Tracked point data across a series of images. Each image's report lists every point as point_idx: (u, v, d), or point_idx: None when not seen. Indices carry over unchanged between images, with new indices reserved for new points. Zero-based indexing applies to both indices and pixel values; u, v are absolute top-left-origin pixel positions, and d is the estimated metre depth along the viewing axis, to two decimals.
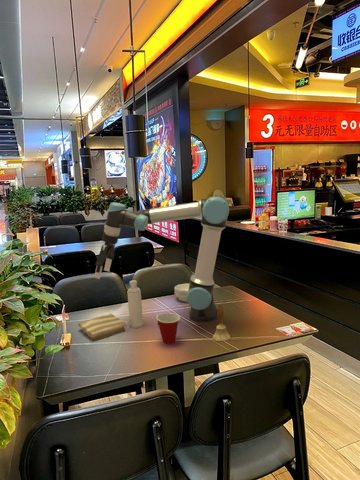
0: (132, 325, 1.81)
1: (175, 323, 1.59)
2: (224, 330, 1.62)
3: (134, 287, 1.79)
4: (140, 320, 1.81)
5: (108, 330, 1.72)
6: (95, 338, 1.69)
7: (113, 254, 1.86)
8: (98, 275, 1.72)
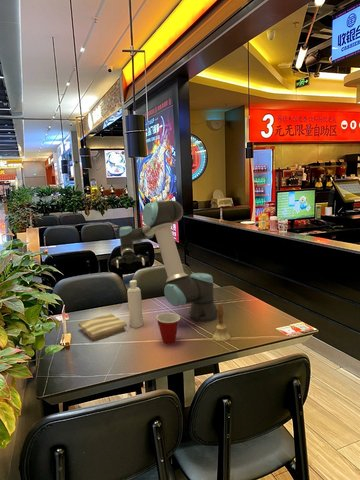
0: (132, 325, 1.81)
1: (175, 323, 1.59)
2: (224, 330, 1.62)
3: (134, 287, 1.79)
4: (140, 320, 1.81)
5: (108, 330, 1.72)
6: (95, 338, 1.69)
7: (144, 256, 1.98)
8: (116, 263, 1.88)
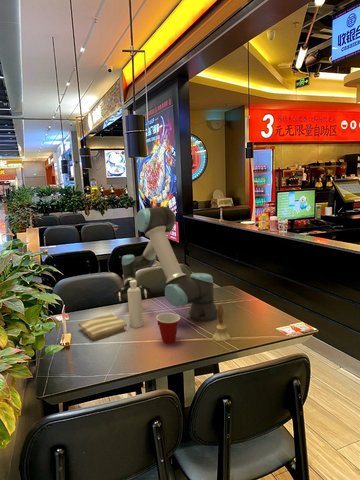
0: (132, 325, 1.81)
1: (175, 323, 1.59)
2: (224, 330, 1.62)
3: (134, 287, 1.79)
4: (140, 320, 1.81)
5: (108, 330, 1.72)
6: (95, 338, 1.69)
7: (147, 287, 1.97)
8: (119, 296, 1.87)
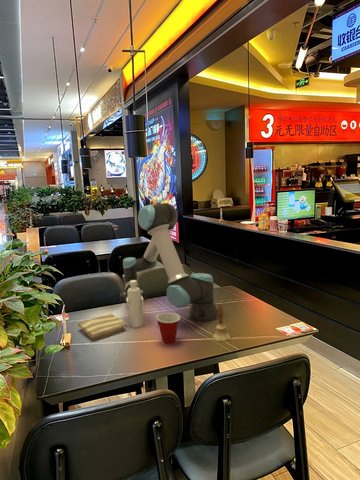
0: (132, 325, 1.81)
1: (175, 323, 1.59)
2: (224, 330, 1.62)
3: (134, 287, 1.79)
4: (140, 320, 1.81)
5: (108, 330, 1.72)
6: (95, 338, 1.69)
7: (144, 293, 1.87)
8: (126, 302, 1.78)
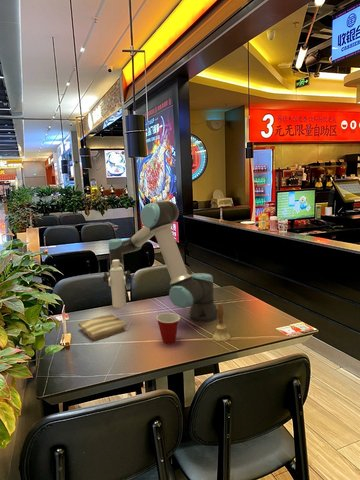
0: (114, 305, 1.79)
1: (175, 323, 1.59)
2: (224, 330, 1.62)
3: (116, 266, 1.77)
4: (122, 300, 1.79)
5: (108, 330, 1.72)
6: (95, 338, 1.69)
7: (128, 274, 1.84)
8: (108, 281, 1.75)
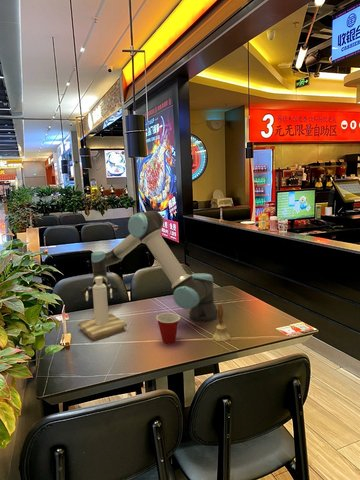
0: (97, 323, 1.76)
1: (175, 323, 1.59)
2: (224, 330, 1.62)
3: (99, 284, 1.74)
4: (105, 318, 1.76)
5: (108, 330, 1.72)
6: (95, 338, 1.69)
7: (114, 287, 1.83)
8: (85, 296, 1.73)
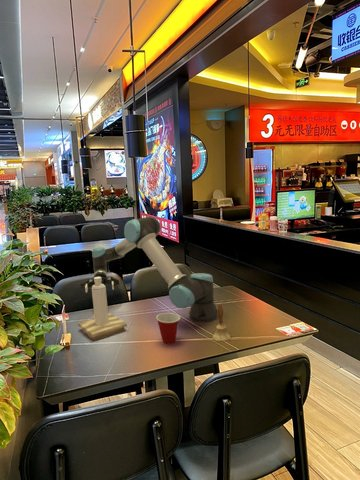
0: (97, 323, 1.76)
1: (175, 323, 1.59)
2: (224, 330, 1.62)
3: (98, 284, 1.74)
4: (105, 318, 1.76)
5: (108, 330, 1.72)
6: (95, 338, 1.69)
7: (115, 279, 1.96)
8: (85, 288, 1.86)
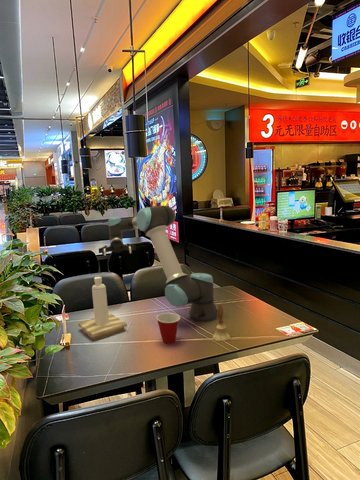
0: (97, 323, 1.76)
1: (175, 323, 1.59)
2: (224, 330, 1.62)
3: (99, 284, 1.74)
4: (105, 318, 1.76)
5: (108, 330, 1.72)
6: (95, 338, 1.69)
7: (132, 245, 2.01)
8: (103, 251, 1.91)
